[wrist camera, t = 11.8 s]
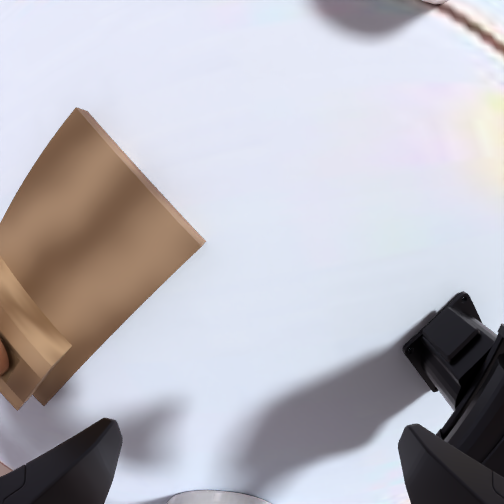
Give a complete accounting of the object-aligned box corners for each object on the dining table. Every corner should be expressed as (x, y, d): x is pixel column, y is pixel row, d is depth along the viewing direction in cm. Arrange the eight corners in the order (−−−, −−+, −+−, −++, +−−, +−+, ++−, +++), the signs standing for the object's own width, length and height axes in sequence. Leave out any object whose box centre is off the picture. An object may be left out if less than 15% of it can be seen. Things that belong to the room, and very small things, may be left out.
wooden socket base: (205, 241, 19) (189, 259, 14) (51, 397, 22) (28, 425, 18) (87, 111, 17) (49, 98, 13) (-26, 304, 21) (-55, 320, 16)
